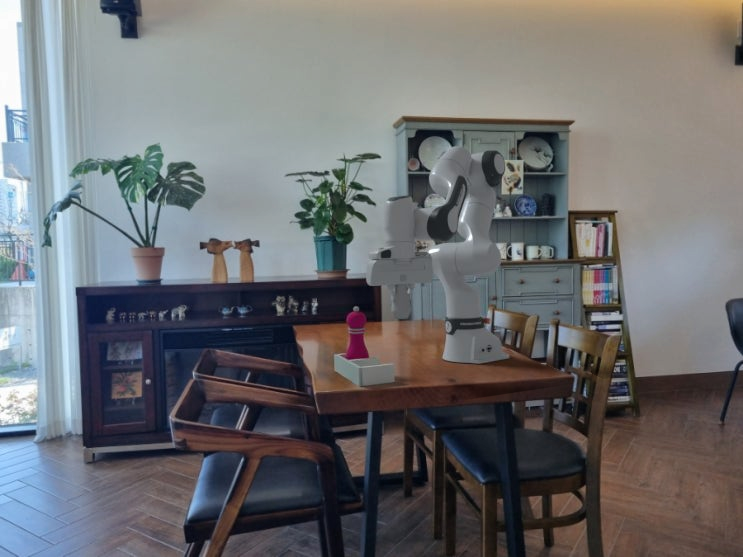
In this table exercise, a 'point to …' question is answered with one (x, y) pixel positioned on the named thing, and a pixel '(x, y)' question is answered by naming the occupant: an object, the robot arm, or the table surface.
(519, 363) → the table surface
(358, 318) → the pepper mill
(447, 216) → the robot arm
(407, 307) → the salt shaker
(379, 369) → the condiment rack
